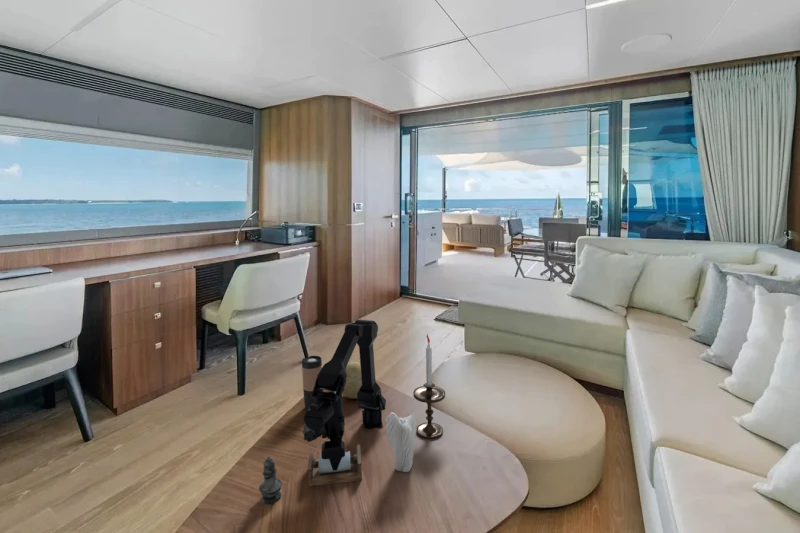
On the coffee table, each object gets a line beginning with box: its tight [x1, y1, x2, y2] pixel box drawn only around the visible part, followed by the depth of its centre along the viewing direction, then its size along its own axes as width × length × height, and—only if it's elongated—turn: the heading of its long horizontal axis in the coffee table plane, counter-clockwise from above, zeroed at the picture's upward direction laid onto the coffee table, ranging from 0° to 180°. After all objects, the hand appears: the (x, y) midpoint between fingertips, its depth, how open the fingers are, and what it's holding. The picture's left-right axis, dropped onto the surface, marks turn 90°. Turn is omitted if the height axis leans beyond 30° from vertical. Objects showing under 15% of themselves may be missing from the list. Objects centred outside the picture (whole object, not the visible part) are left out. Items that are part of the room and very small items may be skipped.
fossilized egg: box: [342, 361, 362, 400], centre depth 159 cm, size 13×13×15 cm
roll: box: [318, 450, 351, 474], centre depth 113 cm, size 9×5×5 cm, turn 98°
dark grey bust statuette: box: [258, 455, 283, 506], centre depth 103 cm, size 6×6×12 cm
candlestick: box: [412, 333, 446, 440], centre depth 131 cm, size 11×11×35 cm
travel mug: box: [301, 355, 324, 412], centre depth 151 cm, size 8×8×20 cm
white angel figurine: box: [385, 411, 417, 473], centre depth 114 cm, size 8×8×18 cm
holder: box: [306, 444, 363, 487], centre depth 113 cm, size 15×9×5 cm, turn 98°
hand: (335, 461), depth 113 cm, fingers open, 7 cm apart
